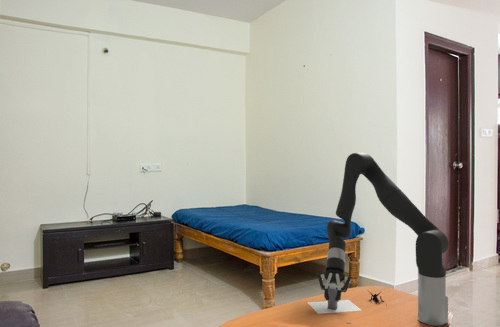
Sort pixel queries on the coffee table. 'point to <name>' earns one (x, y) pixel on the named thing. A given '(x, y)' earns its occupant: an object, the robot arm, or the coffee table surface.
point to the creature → (376, 297)
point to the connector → (332, 297)
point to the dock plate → (342, 307)
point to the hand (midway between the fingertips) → (332, 299)
